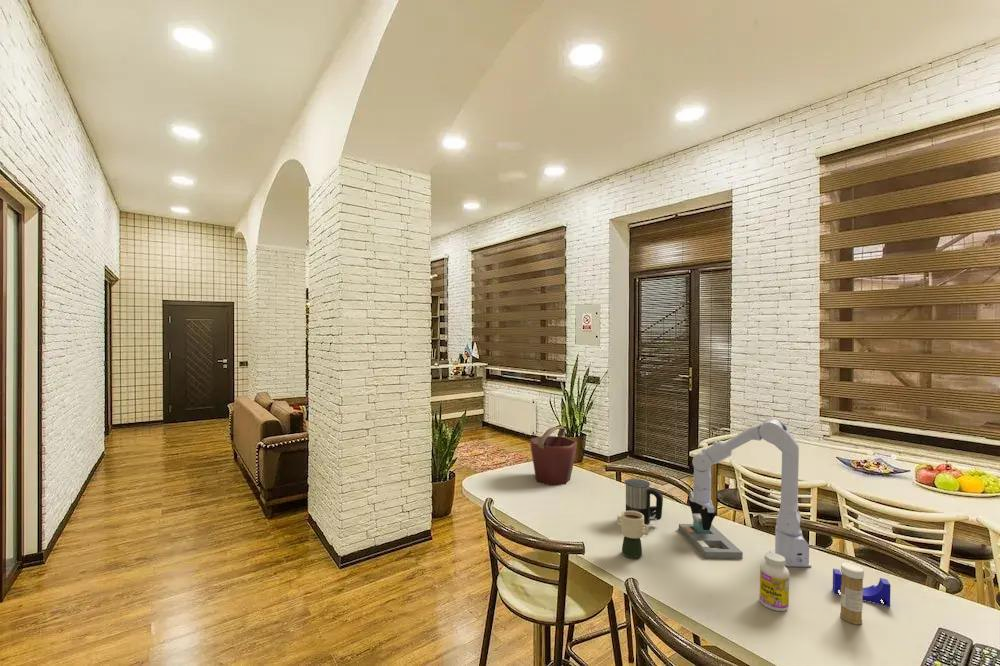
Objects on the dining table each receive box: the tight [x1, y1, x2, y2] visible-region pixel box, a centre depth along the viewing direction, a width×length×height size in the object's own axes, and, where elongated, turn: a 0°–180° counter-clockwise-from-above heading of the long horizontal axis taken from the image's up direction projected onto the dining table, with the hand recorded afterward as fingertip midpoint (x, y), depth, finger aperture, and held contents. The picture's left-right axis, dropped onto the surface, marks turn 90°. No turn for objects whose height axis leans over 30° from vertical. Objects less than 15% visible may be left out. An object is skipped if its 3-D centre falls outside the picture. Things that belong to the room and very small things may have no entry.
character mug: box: [616, 510, 649, 558], centre depth 146 cm, size 11×7×13 cm, turn 45°
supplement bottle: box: [758, 552, 790, 612], centre depth 121 cm, size 7×7×13 cm
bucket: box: [529, 426, 578, 486], centre depth 219 cm, size 24×22×25 cm
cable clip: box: [832, 568, 891, 607], centre depth 126 cm, size 12×4×6 cm, turn 64°
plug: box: [691, 512, 710, 534], centre depth 161 cm, size 5×5×7 cm
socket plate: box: [678, 523, 744, 559], centre depth 156 cm, size 21×12×2 cm, turn 1°
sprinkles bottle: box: [839, 562, 865, 625], centre depth 115 cm, size 5×5×14 cm
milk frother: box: [624, 478, 664, 526], centre depth 176 cm, size 14×16×15 cm
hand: (701, 525), depth 161 cm, fingers open, 7 cm apart
